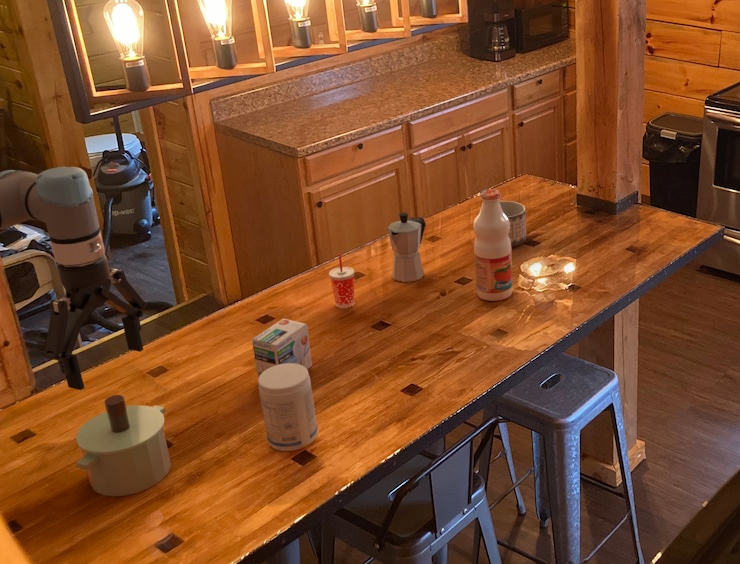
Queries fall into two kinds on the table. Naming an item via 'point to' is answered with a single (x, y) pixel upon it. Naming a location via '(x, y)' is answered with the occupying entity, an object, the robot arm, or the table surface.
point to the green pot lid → (119, 428)
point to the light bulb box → (282, 345)
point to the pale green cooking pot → (128, 467)
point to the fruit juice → (492, 249)
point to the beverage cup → (343, 285)
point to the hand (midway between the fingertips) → (107, 368)
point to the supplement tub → (288, 406)
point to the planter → (515, 221)
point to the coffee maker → (407, 247)
